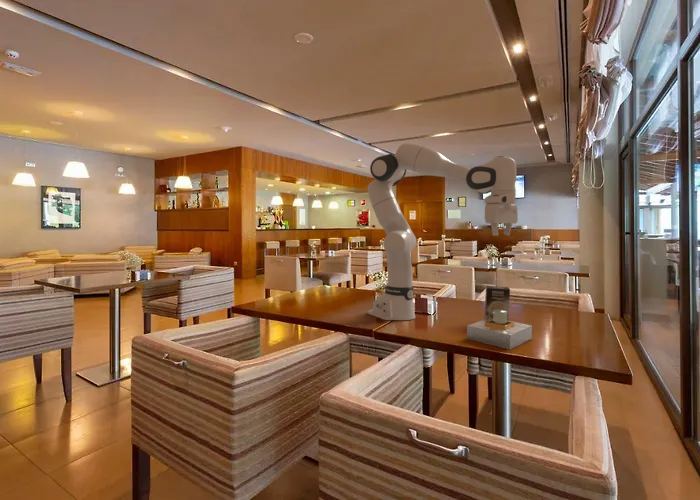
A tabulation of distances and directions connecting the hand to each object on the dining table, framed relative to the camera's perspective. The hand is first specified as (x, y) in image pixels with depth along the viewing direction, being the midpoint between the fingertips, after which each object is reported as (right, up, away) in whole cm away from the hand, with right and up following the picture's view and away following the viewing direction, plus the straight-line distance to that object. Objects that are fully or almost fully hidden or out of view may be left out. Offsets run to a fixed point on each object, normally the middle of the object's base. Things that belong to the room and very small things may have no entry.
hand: (501, 235), depth 148 cm
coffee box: (+2, -37, +11) cm, 39 cm away
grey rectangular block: (-3, -38, -7) cm, 39 cm away
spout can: (-4, -37, -6) cm, 38 cm away
